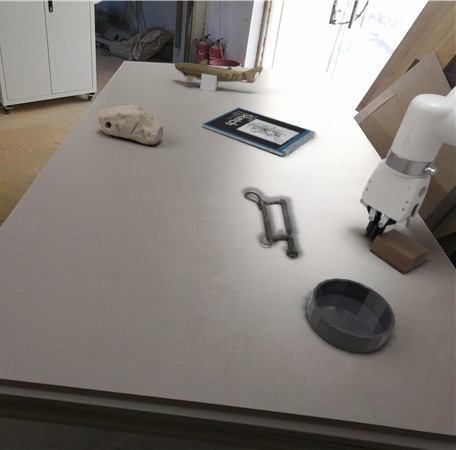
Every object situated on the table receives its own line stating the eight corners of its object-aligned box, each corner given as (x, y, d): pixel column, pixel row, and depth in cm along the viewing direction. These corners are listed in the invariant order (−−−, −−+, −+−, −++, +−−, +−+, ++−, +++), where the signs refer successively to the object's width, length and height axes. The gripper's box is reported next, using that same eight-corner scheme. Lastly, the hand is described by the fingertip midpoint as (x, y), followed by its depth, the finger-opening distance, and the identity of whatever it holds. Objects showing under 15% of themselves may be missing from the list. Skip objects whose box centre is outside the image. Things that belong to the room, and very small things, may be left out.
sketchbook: (237, 111, 147) (238, 105, 145) (315, 137, 131) (317, 131, 130) (202, 127, 133) (203, 121, 132) (284, 158, 118) (286, 152, 117)
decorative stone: (95, 135, 125) (94, 104, 119) (107, 126, 131) (106, 96, 125) (155, 149, 119) (157, 117, 113) (165, 139, 125) (167, 108, 119)
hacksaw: (298, 260, 82) (299, 254, 82) (247, 254, 83) (248, 248, 83) (285, 196, 102) (286, 191, 101) (243, 192, 102) (245, 187, 102)
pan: (339, 284, 77) (346, 269, 75) (401, 333, 69) (411, 318, 66) (290, 309, 72) (296, 294, 69) (351, 366, 63) (360, 350, 61)
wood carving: (255, 99, 157) (261, 69, 150) (170, 85, 165) (172, 57, 159) (259, 92, 163) (264, 63, 157) (176, 79, 172) (178, 51, 165)
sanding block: (386, 242, 88) (394, 228, 86) (421, 265, 83) (430, 250, 81) (369, 250, 86) (376, 236, 83) (403, 274, 80) (411, 259, 78)
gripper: (458, 175, 74) (413, 251, 85) (385, 142, 84) (354, 214, 95) (434, 185, 70) (392, 262, 81) (362, 149, 80) (332, 222, 91)
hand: (371, 236), depth 88 cm, fingers closed
